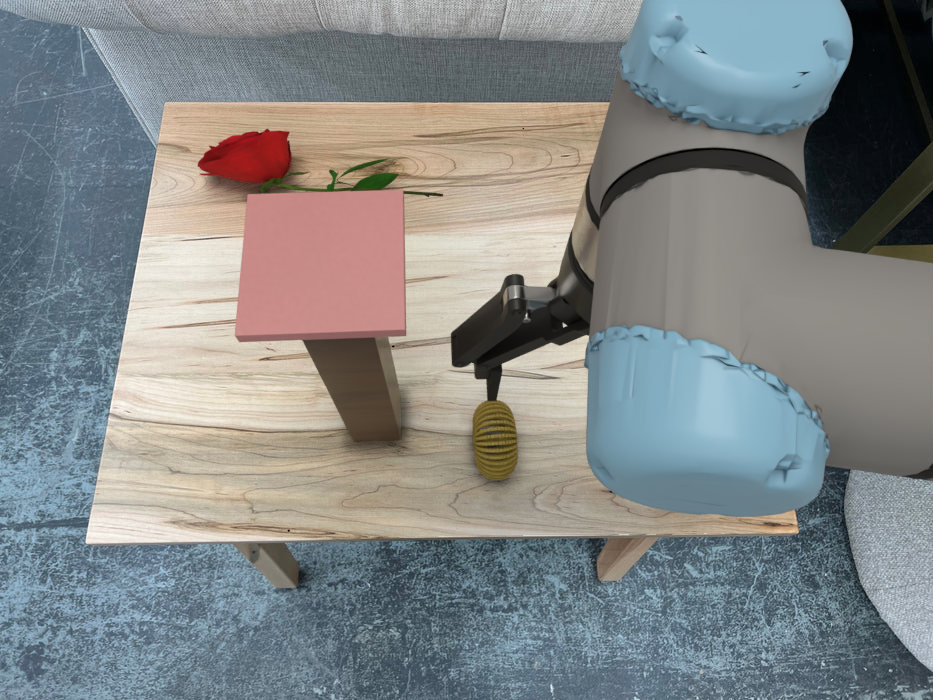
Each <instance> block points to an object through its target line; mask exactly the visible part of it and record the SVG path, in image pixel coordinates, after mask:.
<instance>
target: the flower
mask: <svg viewBox="0 0 933 700" xmlns="http://www.w3.org/2000/svg"><path fill="white" fill-rule="evenodd" d="M263 130H264V131H261V132H259V131H257V130H254V131H246V132H244V133H242V134H234V135H230V136H229V137H227V138H225V139H223V140H221V141H219V142H218V145H216V146H214V145H208V147H209V149H208V150H207V151H205V152H204V153H203V156H202V157H201V158H200V159H199V160H198V162H197V167H198V168H199V169H200V170H201V171H203V173H199V176H200V175H201V176H204V177H206V176H208V177H220V178H224V179H229V180H232V181H236V182H240V183H247V184H262V185H261V186H259V187H258V190H259V191H260V194H266V193H267V191H268V190H270V188H271V187H272V186H277V187H278V186H279V187H282V188H285V189H287V190H288V189H290V190H295V191H302V192H340V191H375V190H383V189H384V190H387V189H385V187H388V186H389V185H390V184H392V183H393V182H394V181H395V180H396V179H397V178H398V176H399V175H400V173H394V172H380V173H379V172H378V173H375V174H372V175H369V176H365V177H364V178H362V179H360V180H358V182H356V183H355V184H354V185H353V184H350V183H347V182H344V181H343V182H342V181H340V180H339V179H340V178H342V177H344V176H346V175H347V174H350V173H352V172H355V171H358V170H362V169H366V168H369V167H371V166H374V165H378V164H380V163H383V162H385V161H388V160H390V159H391V158H389V157H388V158H380V159H376V160H371V161H367V162H364V163H360V164H357V165H355V166H353V167H350V168H349V169H347V170H346V171H345V172H343V173H342V174H341V175H339V173H338V172H336V171H335V170H334V169H329V170H328V173H329V174H330V177H332V181H331V183H329V184H327V185H326V188H317V187H316V188H315V187H302V186H294V185H288V184H285V183H283V180H284V179H286V178H289V177H292V176H305V175H306V174H309V173H310V171H293V172H289V171H290V169H291V165H292V164H291V163H292V159H293V153H292V151H291V143H290V140H288V138H289V135H290V133H291V132H290V131H289V130H288V131H287V130H271V131H270V129H269V128H265V129H263ZM340 184H341V185H348V186H351V187H337V188H335V185H340ZM403 192H404V195H413V196H424V197H428V198H430V197H444V193H440V192H429V191H413V190H403Z"/></svg>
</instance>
